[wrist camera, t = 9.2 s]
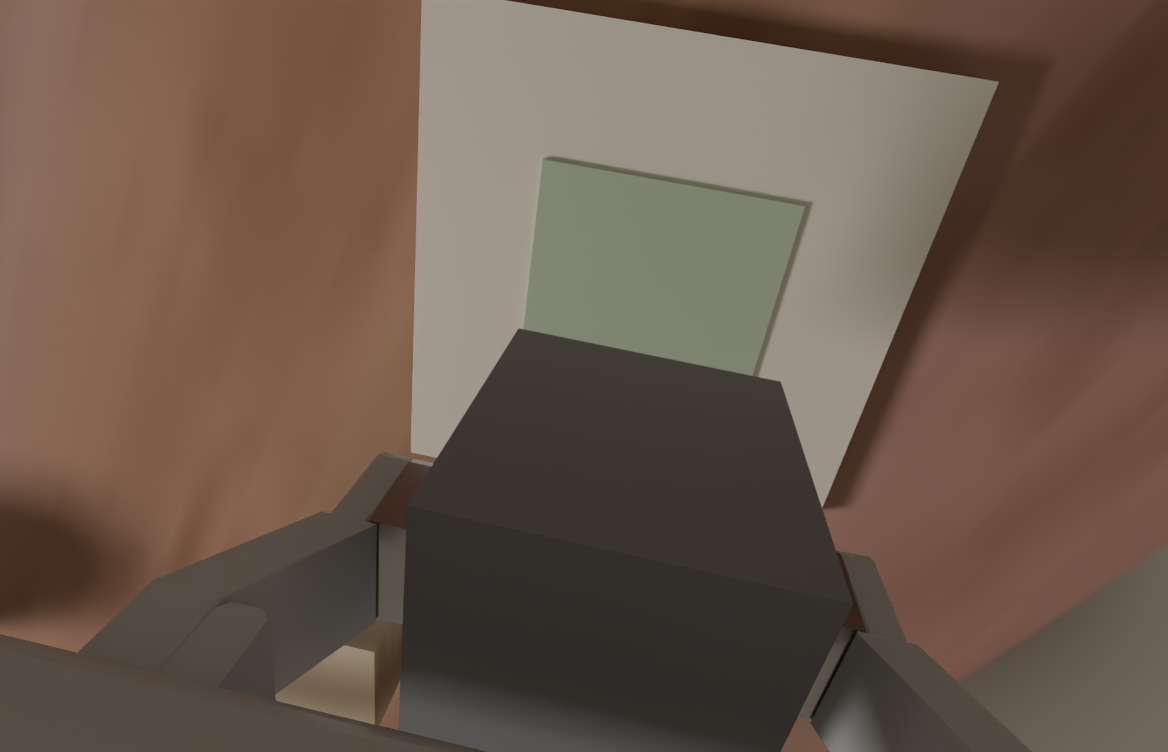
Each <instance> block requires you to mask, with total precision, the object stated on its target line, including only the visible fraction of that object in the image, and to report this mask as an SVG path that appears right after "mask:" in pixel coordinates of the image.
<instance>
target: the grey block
mask: <svg viewBox="0 0 1168 752" xmlns="http://www.w3.org/2000/svg"><path fill="white" fill-rule="evenodd" d="M852 606H853V602H852V599H851V596H850V593H849V589H848V586H847V583H846V580H845V577H844V574H843V571H842V568H841V565H840V562H839V559H838V556H837V553H836V550H835V547H834V543H833V540H832V537H831V534H830V531H829V528H828V525H827V522H826V519H825V516H824V513H823V510H822V507H821V504H820V501H819V497H818V494H817V491H816V488H815V485H814V482H813V479H812V476H811V473H810V470H809V467H808V464H807V461H806V458H805V455H804V452H803V448H802V445H801V442H800V439H799V436H798V433H797V430H796V427H795V424H794V421H793V418H792V415H791V412H790V409H789V406H788V402H787V399H786V396H785V393H784V390H783V387H782V384H781V382H780V381H775V380H770V379H765V378H760V377H755V376H750V375H746V374H741V373H736V372H731V371H726V370H721V369H716V368H711V367H706V366H701V365H697V364H692V363H687V362H682V361H677V360H672V359H667V358H662V357H657V356H652V355H647V354H643V353H638V352H633V351H628V350H623V349H618V348H613V347H608V346H603V345H598V344H593V343H589V342H584V341H579V340H574V339H569V338H564V337H559V336H554V335H549V334H544V333H540V332H535V331H530V330H525V329H520V328H518V330H517V332H516V333H515V335H514V336H513V338H512V340H511V341H510V343H509V344H508V346H507V347H506V349H505V351H504V352H503V354H502V355H501V357H500V359H499V360H498V362H497V363H496V365H495V367H494V368H493V370H492V371H491V373H490V375H489V376H488V378H487V379H486V381H485V382H484V384H483V386H482V387H481V389H480V390H479V392H478V394H477V395H476V397H475V398H474V400H473V402H472V403H471V405H470V406H469V408H468V410H467V411H466V413H465V414H464V416H463V417H462V419H461V421H460V422H459V424H458V425H457V427H456V429H455V430H454V432H453V433H452V435H451V437H450V438H449V440H448V441H447V443H446V444H445V446H444V448H443V449H442V451H441V452H440V454H439V456H438V457H437V459H436V460H435V462H434V464H433V465H432V467H431V468H430V470H429V472H428V473H427V475H426V476H425V478H424V479H423V481H422V483H421V484H420V486H419V487H418V489H417V491H416V492H415V494H414V495H413V497H412V499H411V500H410V502H409V503H408V505H407V520H406V547H405V574H404V600H403V627H402V654H401V680H400V707H399V731H403V732H408V733H412V734H416V735H420V736H424V737H428V738H432V739H437V740H441V741H445V742H449V743H453V744H457V745H461V746H465V747H470V748H474V749H478V750H482V751H486V752H780V751H781V749H782V747H783V745H784V743H785V741H786V739H787V737H788V735H789V733H790V731H791V729H792V727H793V725H794V723H795V721H796V719H797V717H798V715H799V713H800V711H801V709H802V707H803V705H804V703H805V701H806V699H807V697H808V695H809V693H810V691H811V689H812V687H813V685H814V683H815V681H816V679H817V677H818V675H819V673H820V671H821V669H822V667H823V664H824V662H825V660H826V658H827V656H828V654H829V652H830V650H831V648H832V646H833V644H834V642H835V640H836V638H837V636H838V634H839V632H840V630H841V628H842V626H843V624H844V622H845V620H846V618H847V616H848V614H849V612H850V610H851V608H852Z"/></svg>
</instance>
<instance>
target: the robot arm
mask: <svg viewBox="0 0 1168 752" xmlns="http://www.w3.org/2000/svg"><path fill="white" fill-rule="evenodd" d="M433 464H434V463H430V462H426V461H422V460H418V459H412V458H408V457H404V456H400V455H395V454H391V453H386V452H384V453H381V454H379V455H378V456H376V458H375V459H374V460H373V461H372V463H371V464H370V465H369V466H368V468H367V469H366V470H365V471H364V473H363V474H362V475H361V476H360V478H359V479H358V480H357V481H356V483H355V484H354V485H353V486H352V488H351V489H350V490H349V491H348V493H347V494H346V495H345V496H344V498H343V499H342V500H341V501H340V503H339V504H338V505H337V506H336V508H335V509H334V510H333V511H332V513H331V514H330V513H325V512H320V513H317V514H315V515H312V516H310V517H307V518H305V519H302V520H300V521H297V522H295V523H293V524H290V525H288V526H285V527H283V528H280V529H278V530H275V531H273V532H270V533H268V534H266V535H263V536H261V537H258V538H256V539H253V540H251V541H248V542H246V543H243V544H241V545H238V546H236V547H234V548H231V549H229V550H226V551H224V552H221V553H219V554H216V555H214V556H211V557H209V558H206V559H204V560H202V561H199V562H197V563H194V564H192V565H189V566H187V567H184V568H182V569H179V570H177V571H175V572H172V573H170V574H167V575H165V576H162V577H160V578H157V579H155V580H153V581H152V582H151V583H150V584H149V585H148V586H147V587H146V588H144V589H143V590H142V591H141V592H140V593H139V594H138V595H137V596H136V597H135V598H134V599H133V600H132V601H131V602H130V603H129V604H128V605H127V606H126V607H125V608H124V609H123V610H121V611H120V612H119V613H118V614H117V615H116V616H115V617H114V618H113V619H112V620H111V621H110V622H109V623H108V624H107V625H106V626H105V627H104V628H103V629H102V630H101V631H100V632H98V633H97V634H96V635H95V636H94V637H93V638H92V639H91V640H90V641H89V642H88V643H87V644H86V645H85V646H84V647H83V648H82V649H81V650H80V651H79V652H78V653H76V652H72V651H68V650H64V649H60V648H55V647H51V646H47V645H43V644H39V643H35V642H31V641H26V640H22V639H18V638H14V637H10V636H6V635H2V634H0V752H486V751H482V750H478V749H474V748H470V747H465V746H461V745H457V744H453V743H449V742H445V741H441V740H437V739H432V738H428V737H424V736H420V735H416V734H412V733H408V732H403V731H399V730H395V729H391V728H387V727H383V726H379V725H374V724H370V723H366V722H362V721H358V720H354V719H350V718H345V717H341V716H337V715H333V714H329V713H325V712H321V711H316V710H312V709H308V708H304V707H300V706H296V705H292V704H287V703H283V702H279V701H276V697H275V695H276V694H277V693H278V692H280V691H281V690H282V689H284V688H285V687H287V686H288V685H289V684H291V683H292V682H294V681H295V680H296V679H298V678H299V677H301V676H302V675H303V674H305V673H306V672H307V671H309V670H310V669H312V668H313V667H314V666H316V665H317V664H319V663H320V662H321V661H323V660H324V659H326V658H327V657H328V656H330V655H331V654H332V653H334V652H335V651H337V650H338V649H339V648H341V647H342V646H344V645H345V644H346V643H348V642H349V641H351V640H352V639H353V638H355V637H356V636H358V635H359V634H360V633H362V632H363V631H364V630H366V629H367V628H369V627H370V626H371V625H373V624H374V623H376V619H378V620H383V621H388V622H393V623H398V624H403V600H404V574H405V547H406V520H407V505H408V503H409V502H410V500H411V499H412V497H413V495H414V494H415V492H416V491H417V489H418V487H419V486H420V484H421V483H422V481H423V479H424V478H425V476H426V475H427V473H428V472H429V470H430V468H431V467H432V465H433ZM836 553H837V556H838V559H839V562H840V565H841V568H842V571H843V574H844V577H845V580H846V583H847V586H848V589H849V593H850V596H851V599H852V602H853V606H852V608H851V610H850V612H849V614H848V616H847V618H846V620H845V622H844V624H843V626H842V628H841V630H840V632H839V634H838V636H837V638H836V640H835V642H834V644H833V646H832V648H831V650H830V652H829V654H828V656H827V658H826V660H825V662H824V664H823V667H822V669H821V671H820V673H819V675H818V677H817V679H816V681H815V683H814V685H813V687H812V689H811V691H810V693H809V695H808V697H807V699H806V701H805V703H804V705H803V707H802V709H801V711H800V713H799V715H798V717H802V718H805V719H809V720H812V721H811V722H810V723H811V724H812V726H813V727H814V729H815V731H816V732H817V734H818V735H819V737H820V738H821V740H822V741H823V743H824V744H825V746H826V747H827V749H828V750H829V752H1032V751H1031V750H1030V749H1029V748H1028V747H1027V746H1026V745H1024V743H1022V742H1021V741H1020V740H1019V739H1018V738H1017V737H1016V736H1015V735H1014V734H1013V733H1012V732H1011V731H1009V730H1008V729H1007V728H1006V727H1005V726H1004V725H1003V724H1002V723H1001V722H1000V721H999V720H998V719H997V718H996V717H994V716H993V715H992V714H991V713H990V712H989V711H988V710H987V709H986V708H985V707H984V706H983V705H982V704H980V703H979V702H978V701H977V700H976V699H975V698H974V697H973V696H972V695H971V694H970V693H969V692H968V691H967V690H966V689H964V688H963V687H962V686H961V685H960V684H959V683H958V682H957V681H956V680H955V679H954V678H953V677H952V676H951V675H949V674H948V673H947V672H946V671H945V670H944V669H943V668H942V667H941V666H940V665H939V664H938V663H937V662H935V661H934V660H933V659H932V658H931V657H930V656H929V655H928V654H927V653H926V652H925V651H924V650H923V649H922V648H920V647H919V646H918V645H916V644H911V643H907V641H906V638H905V636H904V633H903V631H902V628H901V626H900V624H899V621H898V619H897V616H896V614H895V611H894V609H893V606H892V604H891V601H890V599H889V597H888V594H887V592H886V589H885V587H884V584H883V582H882V579H881V577H880V574H879V572H878V570H877V567H876V565H875V562H874V561H873V560H872V559H871V558H870V557H867V556H861V555H856V554H851V553H846V552H840V551H836Z"/></svg>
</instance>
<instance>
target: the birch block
mask: <svg viewBox="0 0 1168 752" xmlns="http://www.w3.org/2000/svg"><path fill="white" fill-rule="evenodd" d="M402 627H403V624H398V623H393V622H388V621H383V620H378V619H376V623H374V624H373V625H371V626H370V627H369V628H367V629H366V630H364V631H363V632H362V633H360V634H359V635H358V636H356V637H355V638H353V639H352V640H351V641H349V642H348V643H346V644H345V645H344V646H342V647H341V648H339V649H338V650H337V651H335V652H334V653H332V654H331V655H330V656H328V657H327V658H326V659H324V660H323V661H321V662H320V663H319V664H317V665H316V666H314V667H313V668H312V669H310V670H309V671H307V672H306V673H305V674H303V675H302V676H301V677H299V678H298V679H296V680H295V681H294V682H292V683H291V684H289V685H288V686H287V687H285V688H284V689H282V690H281V691H280V692H278V693H277V694H276V695H275V697H276V701H279V702H283V703H287V704H292V705H296V706H300V707H304V708H308V709H312V710H316V711H321V712H325V713H329V714H333V715H337V716H341V717H345V718H350V719H354V720H358V721H362V722H366V723H370V724H374V725H380V723H381V721H382V718H383V716H384V714H385V712H386V710H387V707H388V705H389V703H390V701H391V699H392V696H393V694H394V692H395V690H396V688H397V685H398V683H399V681H400V679H401V654H402Z"/></svg>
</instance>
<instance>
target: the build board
mask: <svg viewBox="0 0 1168 752" xmlns="http://www.w3.org/2000/svg"><path fill="white" fill-rule="evenodd" d="M998 83H999V82H997V81H991V80H985V79H979V78H973V77H967V76H961V75H955V74H949V73H943V72H937V71H931V70H925V69H919V68H913V67H907V66H900V65H894V64H888V63H882V62H876V61H870V60H864V59H858V58H852V57H846V56H840V55H834V54H828V53H822V52H816V51H810V50H804V49H798V48H792V47H785V46H779V45H773V44H767V43H761V42H755V41H749V40H743V39H737V38H731V37H725V36H719V35H713V34H707V33H701V32H695V31H689V30H683V29H677V28H670V27H664V26H658V25H652V24H646V23H640V22H634V21H628V20H622V19H616V18H610V17H604V16H598V15H592V14H586V13H580V12H574V11H568V10H562V9H555V8H549V7H543V6H537V5H531V4H525V3H519V2H513V1H507V0H422V14H421V55H420V96H419V137H418V178H417V219H416V260H415V301H414V341H413V382H412V423H411V452H412V453H417V454H422V455H426V456H431V457H436V458H437V457H438V456H439V454H440V452H441V451H442V449H443V448H444V446H445V444H446V443H447V441H448V440H449V438H450V437H451V435H452V433H453V432H454V430H455V429H456V427H457V425H458V424H459V422H460V421H461V419H462V417H463V416H464V414H465V413H466V411H467V410H468V408H469V406H470V405H471V403H472V402H473V400H474V398H475V397H476V395H477V394H478V392H479V390H480V389H481V387H482V386H483V384H484V382H485V381H486V379H487V378H488V376H489V375H490V373H491V371H492V370H493V368H494V367H495V365H496V363H497V362H498V360H499V359H500V357H501V355H502V354H503V352H504V351H505V349H506V347H507V346H508V344H509V343H510V341H511V340H512V338H513V336H514V335H515V333H516V332H517V330H518V328H520V329H525V330H530V331H535V332H540V333H544V334H549V335H554V336H559V337H564V338H569V339H574V340H579V341H584V342H589V343H593V344H598V345H603V346H608V347H613V348H618V349H623V350H628V351H633V352H638V353H643V354H647V355H652V356H657V357H662V358H667V359H672V360H677V361H682V362H687V363H692V364H697V365H701V366H706V367H711V368H716V369H721V370H726V371H731V372H736V373H741V374H746V375H750V376H755V377H760V378H765V379H770V380H775V381H780V382H781V384H782V387H783V390H784V393H785V396H786V399H787V402H788V406H789V409H790V412H791V415H792V418H793V421H794V424H795V427H796V430H797V433H798V436H799V439H800V442H801V445H802V448H803V452H804V455H805V458H806V461H807V464H808V467H809V470H810V473H811V476H812V479H813V482H814V485H815V488H816V491H817V494H818V497H819V501H820V504H821V507H822V508H823V505H824V503H825V500H826V498H827V496H828V493H829V491H830V488H831V486H832V484H833V481H834V479H835V476H836V474H837V471H838V469H839V467H840V464H841V462H842V459H843V457H844V455H845V452H846V450H847V447H848V445H849V443H850V440H851V438H852V435H853V433H854V430H855V428H856V426H857V423H858V421H859V418H860V416H861V414H862V411H863V409H864V406H865V404H866V402H867V399H868V397H869V394H870V392H871V389H872V387H873V385H874V382H875V380H876V377H877V375H878V373H879V370H880V368H881V365H882V363H883V361H884V358H885V356H886V353H887V351H888V348H889V346H890V344H891V341H892V339H893V336H894V334H895V332H896V329H897V327H898V324H899V322H900V320H901V317H902V315H903V312H904V310H905V307H906V305H907V303H908V300H909V298H910V295H911V293H912V291H913V288H914V286H915V283H916V281H917V279H918V276H919V274H920V271H921V269H922V266H923V264H924V262H925V259H926V257H927V254H928V252H929V250H930V247H931V245H932V242H933V240H934V238H935V235H936V233H937V230H938V228H939V225H940V223H941V221H942V218H943V216H944V213H945V211H946V209H947V206H948V204H949V201H950V199H951V197H952V194H953V192H954V189H955V187H956V184H957V182H958V180H959V177H960V175H961V172H962V170H963V168H964V165H965V163H966V160H967V158H968V156H969V153H970V151H971V148H972V146H973V143H974V141H975V139H976V136H977V134H978V131H979V129H980V127H981V124H982V122H983V119H984V117H985V115H986V112H987V110H988V107H989V105H990V102H991V100H992V98H993V95H994V93H995V90H996V88H997V86H998Z"/></svg>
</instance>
